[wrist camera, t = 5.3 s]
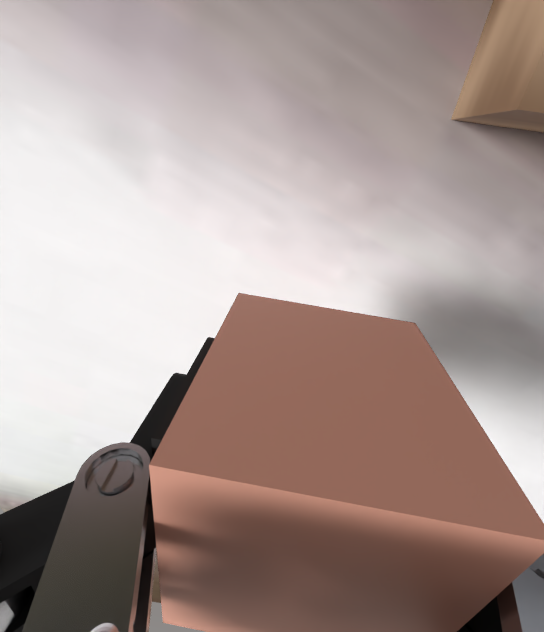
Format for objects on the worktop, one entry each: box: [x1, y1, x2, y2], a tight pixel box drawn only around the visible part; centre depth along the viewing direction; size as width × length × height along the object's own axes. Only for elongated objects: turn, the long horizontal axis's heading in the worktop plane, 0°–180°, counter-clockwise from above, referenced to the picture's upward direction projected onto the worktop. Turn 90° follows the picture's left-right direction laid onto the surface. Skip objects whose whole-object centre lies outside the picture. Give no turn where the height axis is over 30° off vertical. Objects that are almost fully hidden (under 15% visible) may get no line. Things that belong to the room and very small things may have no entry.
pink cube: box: [149, 293, 544, 632], centre depth 8 cm, size 6×6×6 cm
